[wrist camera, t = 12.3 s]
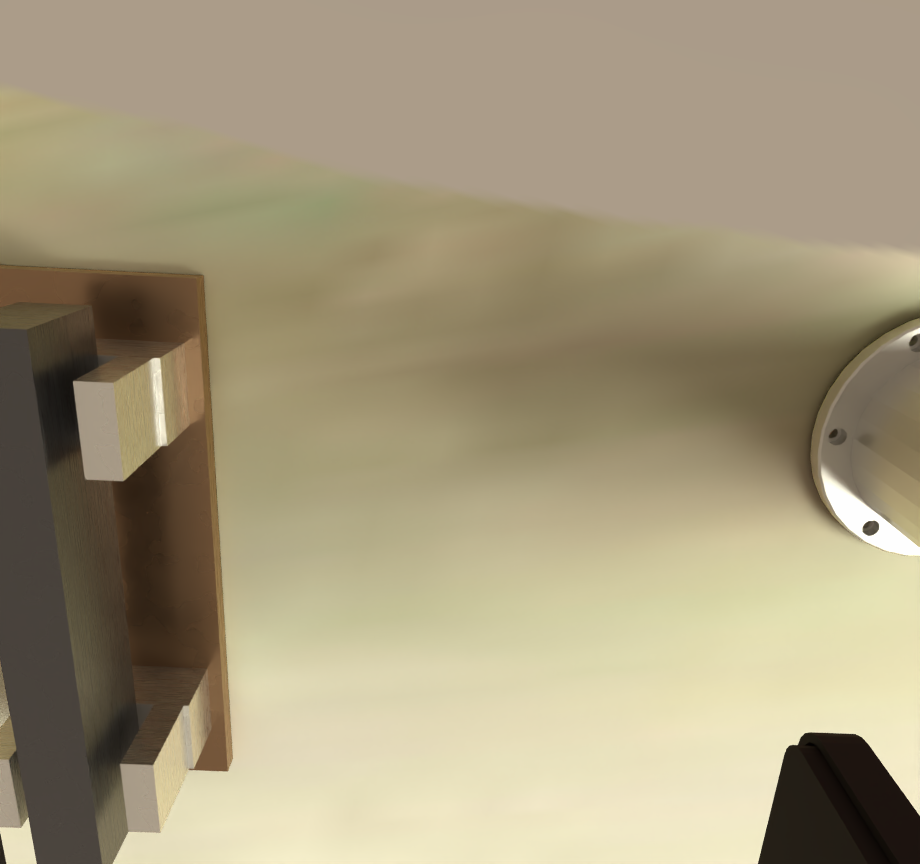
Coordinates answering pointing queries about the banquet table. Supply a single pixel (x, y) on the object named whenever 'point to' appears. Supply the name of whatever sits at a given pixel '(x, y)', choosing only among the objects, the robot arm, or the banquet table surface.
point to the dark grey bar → (60, 594)
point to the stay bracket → (149, 520)
